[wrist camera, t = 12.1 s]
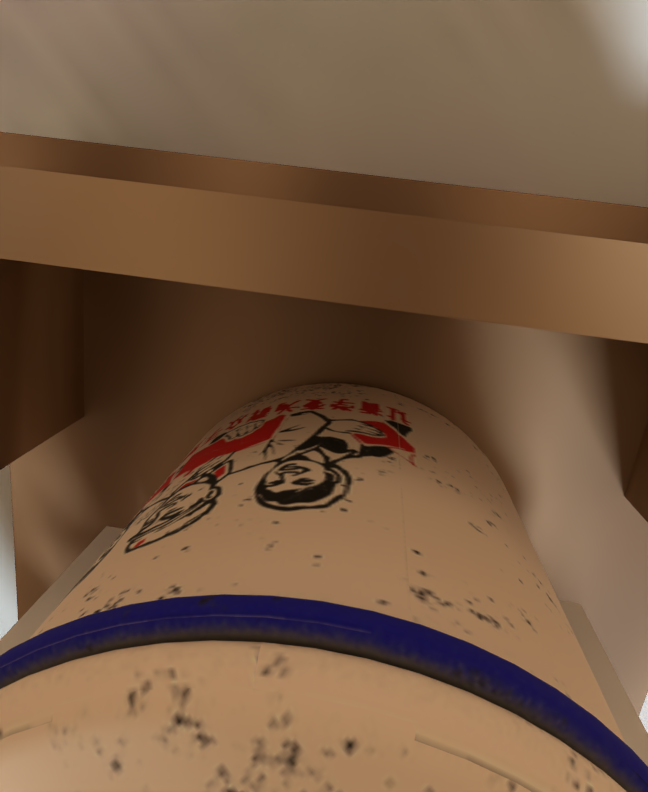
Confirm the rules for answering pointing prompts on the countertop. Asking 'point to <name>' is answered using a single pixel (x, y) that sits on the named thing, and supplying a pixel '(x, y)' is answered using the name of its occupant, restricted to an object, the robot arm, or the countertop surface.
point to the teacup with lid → (314, 626)
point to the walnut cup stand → (321, 342)
